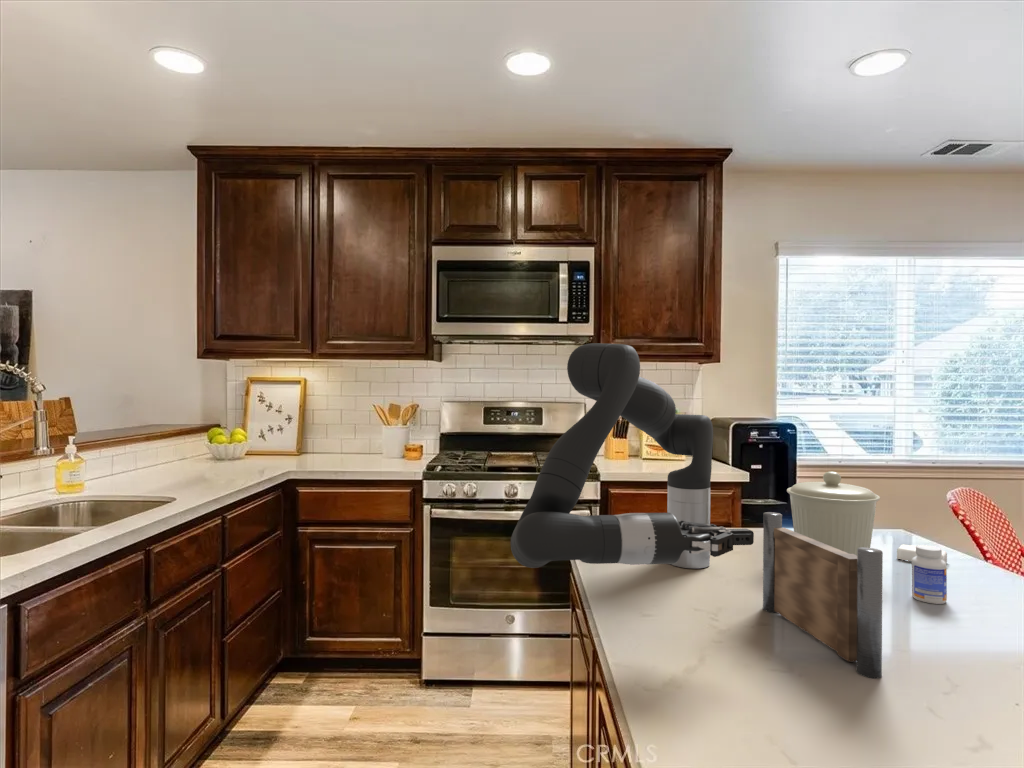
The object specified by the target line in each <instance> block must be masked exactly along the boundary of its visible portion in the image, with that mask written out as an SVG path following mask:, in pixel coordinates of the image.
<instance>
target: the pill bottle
mask: <svg viewBox="0 0 1024 768" xmlns="http://www.w3.org/2000/svg"><path fill="white" fill-rule="evenodd" d="M915 546H916V554H917V556H916V557H914V558H913V559H912V562H911V596H912V597H913V598H914V599H915V600H917V601H919V602H922V603H923V602H924V603H926V604H927V603H928V604H933V605H942V604H943V605H944V604H946V603H947V601H948V600H947V599H948V596H947V595H948V593H947V592H948V590H947V589H948V588H947V584H948V583H947V582H948V579H947V577H948V576H947V574H948V573H947V569H948V568H947V563H945V562H944V561H943V560H941V559H940V557H942V548H940V547H938V546H934V545H926V544H919V545H915Z"/></svg>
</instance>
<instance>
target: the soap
mask: <svg viewBox="0 0 1024 768" xmlns="http://www.w3.org/2000/svg"><path fill="white" fill-rule="evenodd" d="M916 546H917V545H911V544H909V545H908V544H900V546H899V547H898V548H897V549H896V560H898V559H902V560H901V561H903V560H908V561H907V562H909V561H912V559H913V558H914V557H916V556H917V554H916ZM941 550H942V549H941ZM940 559H941V560H943V561H944V562H945V563H946V564H947V562H948V553H947V551H946V550H942V557H940Z"/></svg>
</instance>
